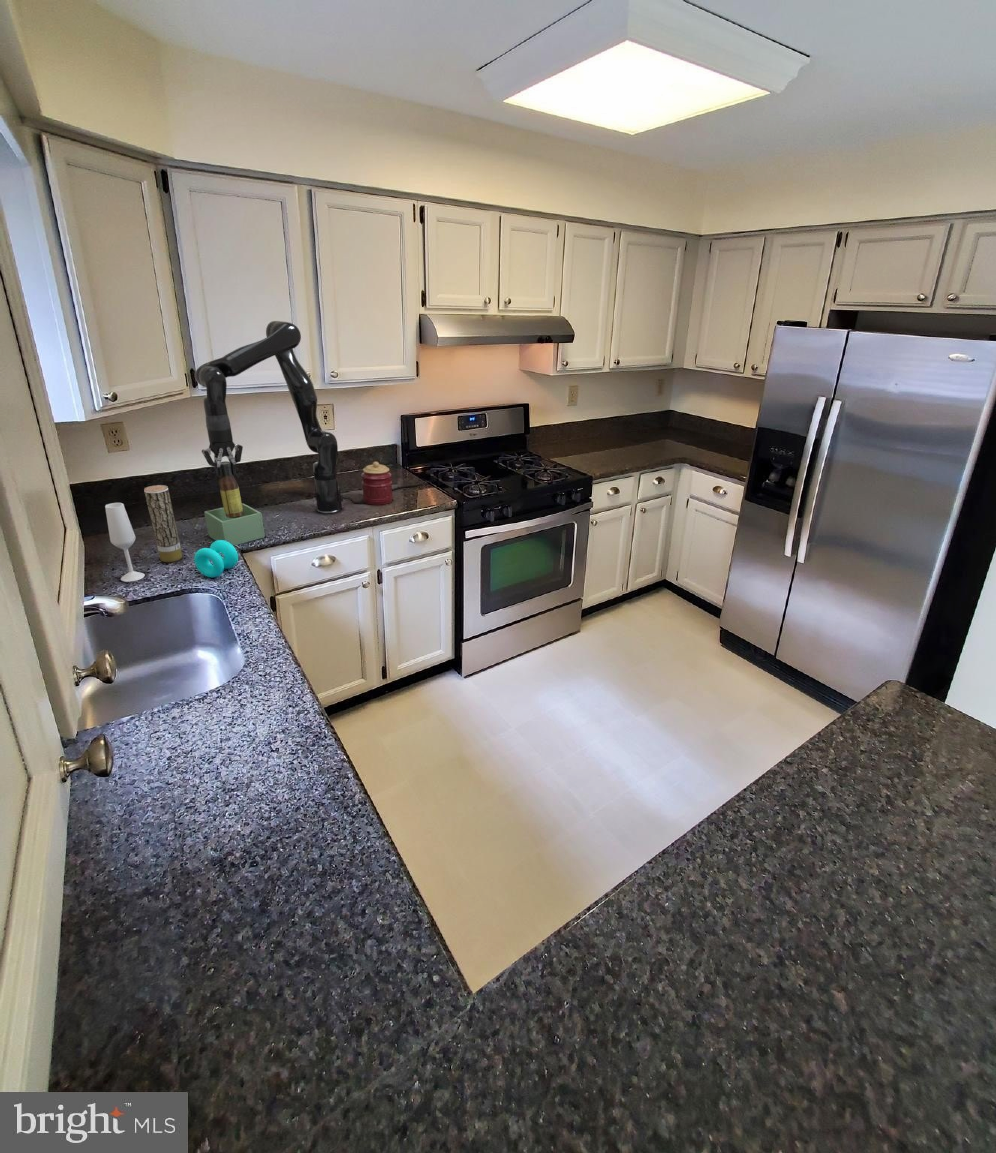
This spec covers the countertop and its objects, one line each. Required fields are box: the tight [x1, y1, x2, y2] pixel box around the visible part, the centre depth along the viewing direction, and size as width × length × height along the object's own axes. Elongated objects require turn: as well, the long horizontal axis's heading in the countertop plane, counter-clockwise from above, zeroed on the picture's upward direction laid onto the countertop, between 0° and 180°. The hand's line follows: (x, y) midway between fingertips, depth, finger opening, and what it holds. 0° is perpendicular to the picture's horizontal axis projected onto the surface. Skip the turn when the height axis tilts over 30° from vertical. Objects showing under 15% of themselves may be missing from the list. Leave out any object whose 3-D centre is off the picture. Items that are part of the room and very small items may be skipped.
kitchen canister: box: [360, 461, 394, 506], centre depth 261 cm, size 13×13×18 cm
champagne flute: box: [104, 502, 146, 583], centre depth 184 cm, size 7×7×24 cm
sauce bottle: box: [218, 460, 243, 518], centre depth 214 cm, size 7×6×20 cm
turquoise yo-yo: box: [193, 540, 239, 578], centre depth 193 cm, size 10×10×10 cm
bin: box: [204, 502, 266, 547], centre depth 220 cm, size 15×15×10 cm
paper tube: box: [143, 484, 183, 563], centre depth 197 cm, size 7×7×25 cm
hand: (227, 475), depth 212 cm, fingers closed on sauce bottle, 4 cm apart
